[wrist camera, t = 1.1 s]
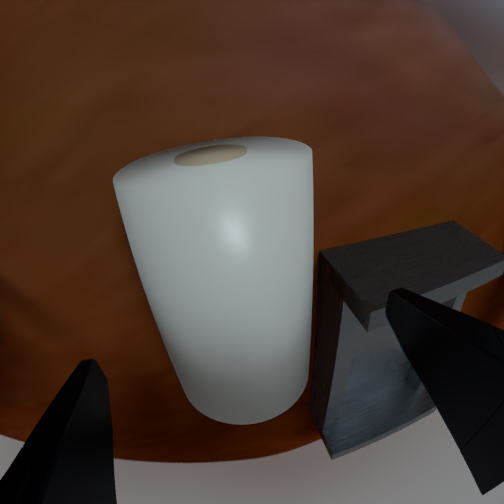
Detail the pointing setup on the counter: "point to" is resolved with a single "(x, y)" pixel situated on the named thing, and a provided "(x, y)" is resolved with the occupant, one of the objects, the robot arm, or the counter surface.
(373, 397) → the cradle holder
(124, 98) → the counter surface
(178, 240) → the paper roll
